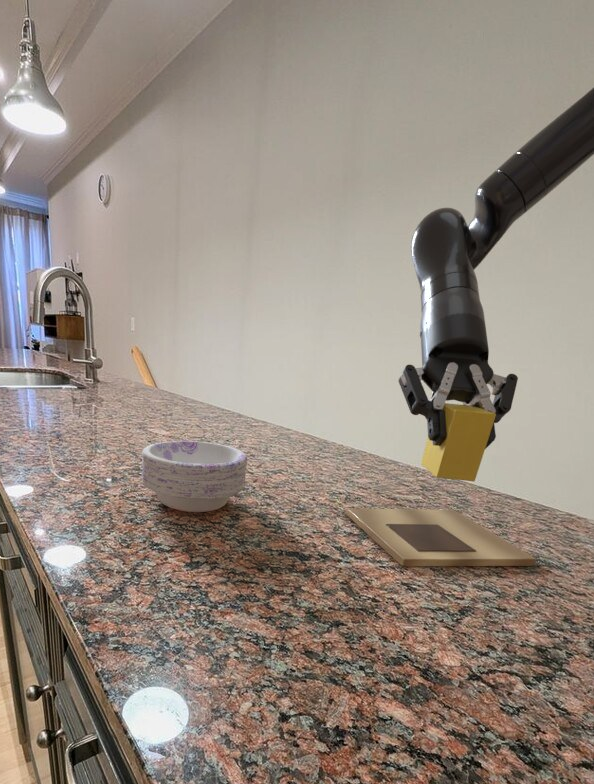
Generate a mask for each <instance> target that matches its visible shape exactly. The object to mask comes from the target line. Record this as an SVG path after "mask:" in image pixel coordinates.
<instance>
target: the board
mask: <svg viewBox="0 0 594 784" xmlns="http://www.w3.org/2000/svg"><path fill="white" fill-rule="evenodd" d="M345 514H346V516H347V517H348V518H350V520H351V521H353V522H354V523H355V524H356V525H357V526H358V527H359V528H360V529H361V530H362V531H364V533H365V534H367V535H368V536H369V538H371V539H372V540H373V541H374V542H375V543H376V544H377V545H378V546H379V547H381V548H382V549H383V550H384V551H385V552H386V553H387V554H388V555H389V556H391V558H393V559H394V560H395V561H396V562H397V563H398V564H399V565H400V566H401V567H534V566H535V565H536V563H537V560H538V559H537V558H536V557H534V556H532V555H531V554H529V552H528V553H527V552H526V551H525V550H523V549H521V548H520V547H518V546H516V545H514V544H512V543H511V542H509V541H507V540H506V539H505V538H503V537H501V536H499V535H497V534H496V533H494V532H492V531H491V530H489V529H488V528H485V527H484V526H482V525H481V524H478V523H477V522H475V521H474V520H472V519H470V518H469V517H467V516H465V515H464V514H462V513H460V512H458V511H457V510H455V509H416V508H415V509H413V508H409V509H408V508H355V507H354V508H353V507H352V508H351V507H347V508H346V513H345Z"/></svg>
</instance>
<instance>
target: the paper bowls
mask: <svg viewBox="0 0 594 784" xmlns="http://www.w3.org/2000/svg"><path fill="white" fill-rule="evenodd" d="M141 456H142V458H141V460H142V461H141V481H142V485H143V486H144V487H145V488H147V489H148V490H150V491H152V492H154V493H155V496H156V498H157V499H158V500H159V503H161V504H163V505H164V506H166V507H168V508H170V509H173V510H175V511H176V510H177V511H181V512H186V513H208V512H212V511H216V510H218V509H221V508H223V507H224V506H225V505H226V504H227V503H228V502H229V500H230V498H231V497H232V496H236V495H238V494H240V493H241V492H242V491H244V489H245V485H246V483H245V482H246V476H247V472H246V471H247V465H248V456H247V455H246V453H244V451H242V450H240V449H238V448H235V447H233V446H229V445H225V444H221V443H214V442H207V441H195V440H194V441H193V440H174V441H162V442H156V443H152V444H149V445H147V446H145V447H144V448H143V450H142V453H141Z"/></svg>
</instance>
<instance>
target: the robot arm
mask: <svg viewBox="0 0 594 784" xmlns="http://www.w3.org/2000/svg"><path fill="white" fill-rule="evenodd" d="M593 156H594V87H592V88H591V89H590V90H589V91H587V92H586V93H585V94H584V95H583V96H581V97H580V98H579V99H578V100H577V101H576V102H574V103H573V104H572V105H570V107H568V108H567V109H566V110H564V111H563V112H562V113H561V114H560V115H558V116H556V118H554V119H553V120H551V122H550V123H549V124H547V125H546V126H544V127H543V128H542V129H541V130H540V131H539V132H538V133H536V134H535V135H534V136H533V137H532V138H530V139H529V140H528V141H527V142H525V144H523V145H522V146H521V147H520V148H519V149H518V150H516V152H514V153H513V154H512V155H511V156H509V157H508V159H507V160H505V161H504V162H503V163H502V164H501V165H500V166H499V167H498V168H497V169H495V171H493V172H492V173H491V174H490V175H489V176H488V177H486V178H485V179H484V181H482V183H481V184H480V185H479V186H478V187H477V189H476V191H475V193H474V215H473V218H472V220H471V221H470V223H469V224H468V223H467V220H466V219H465V217H464V215H463V214H462V213H461V212H460V210H457V209H455V208H453V207H440V208H438V209H437V208H436V209H435V210H433V211H431V212H430V213H428V214H427V215H426V216H424V217H423V218H422V219H421V221H420V222H419V223H418V225H417V226H416V228H415V230H414V232H413V235H412V237H411V243H410V251H411V252H410V253H411V257H412V262H413V266H414V270H415V275H416V278H417V281H418V283H419V284H418V285H419V290H420V311H421V318H420V327H419V328H420V329H419V337H420V349H421V362H422V363H421V366H422V367H415V366H414V365H413V364H407V365H405V366H404V369H403V370H402V373H401V374H400V376H399V378H398V379H397V380H398V384H399V386H400V389H401V391H402V394H403V397H404V399H405V402H406V405H407V407H408V410H409V412H410V414H411V415H413V416H419V415H420V416H423V417H424V418H425V420H426V424H427V439H428V438H429V440H431V441H433V445H436V446H440V445H441V444H442V443H443V442H444V441H445V439H446V437H447V430H446V417H445V411H442V409H443V407H444V404H445V403H446V401H447V402H448V401H457V402H460V403H462V405H469V406H475V407H478V408H481V409H484V410H486V411H489V412H492V413H495V414H496V416H495V419H494V422H493V426H492V429H491V432H490V435H489V438H488V441H487V444H486V447H485V450H487V448H489V446H490V445H492V444H493V442H494V441H495V440H496V438H497V434H496V426H495V424H497V423H499V422H500V421H501V420H502V418H504V416H505V415H507V414H508V413H509V412H510V411H511V409H512V407H513V403H514V402H513V401H514V397H515V393H516V388H517V385H518V380H519V377H518V376H517V375H516V374H515V373H509V374H508V375H507V376H502V375H499V374H495V373H494V370H493V368H492V367H491V365H490V364H489V355H490V349H489V343H488V341H489V340H488V334H487V327H486V319H485V311H484V308H483V305H482V302H481V297H480V291H479V290H480V289H479V283H478V278H477V274H476V272H475V269H477V268H478V267H479V265H480V264H481V263H483V261H484V260H485V258H487V256H488V255H489V254H490V252H491V251H492V250H493V249H494V247H496V245H497V244H498V243H499V241H500V240H501V239H502V238H503V236H504V235H505V234H506V233H507V231H508V230H509V229H510V228H511V227H512V226H513V224H514V223H516V221H518V219H520V218H522V217H523V216H524V215H525V214H526V213H527V212H529V211H530V210H531V209H532V208H533V207H534V206H536V205H537V204H538V203H539V202H540V201H542V200H543V199H544V198H545V197H546V196H547V195H548V194H550V193H551V192H552V191H553V190H554V189H556V188H557V187H558V186H560V184H562V182H564V181H565V180H566V179H568V178H569V177H570V176H571V175H572V174H574V172H575V171H576V170H578V169H579V168H580V167H581V166H582V165H583V164H585V163H586V162H587V161H588V160H589V159H591V157H593ZM422 382H423V383H424V384H425V385H426V386H427V387H428V389H430V390H431V392H432V393H431V394H430V398H428V396H427V394H426V391H425V388H424V386H423V383H422ZM488 385H489V386H490V387H491V391H492V392H491V391H490V389H489V386H488ZM491 395H492V396H494V397H493V401H492V400H491Z"/></svg>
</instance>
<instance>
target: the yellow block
mask: <svg viewBox="0 0 594 784" xmlns="http://www.w3.org/2000/svg"><path fill="white" fill-rule="evenodd" d="M442 411H445V417H446V430H447V437H446V439H445V441H444V442H443V443H442V444H441V445H440V446H436V445H433V441H431V440H429V438H428V437H427V439H426V443H425V448H424V450H423V455H422V458H421V462H420V465H421V466H423V468H425V469H426V470H427V471H429V473H431V474H432V475H433V476H434V477H436V478H437V479H447V480H457V481H464V482H465V481H466V482H476V478H477V475H478V473H479V470H480V466H481V463H482V459H483V456H484V453H485V450H486V449H485V447H486V444H487V441H488V438H489V435H490V432H491V429H492V426H493V422H494V419H495V416H496V414H495V413H492V412H489V411H486V410H484V409H481V408H478V407H475V406H469V405H463V404H458V403H446V402H445V404H444V407H443V409H442Z"/></svg>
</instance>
